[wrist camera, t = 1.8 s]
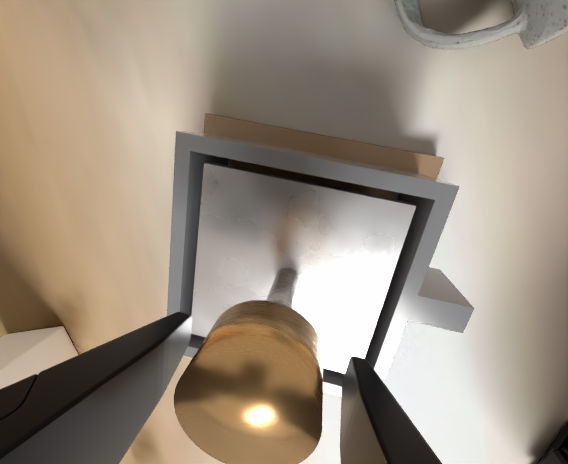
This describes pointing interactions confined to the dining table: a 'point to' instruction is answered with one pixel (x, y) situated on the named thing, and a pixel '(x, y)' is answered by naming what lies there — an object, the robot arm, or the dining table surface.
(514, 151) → the dining table surface
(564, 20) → the ceramic mug
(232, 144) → the grey square tray
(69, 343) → the milk
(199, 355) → the plunger
